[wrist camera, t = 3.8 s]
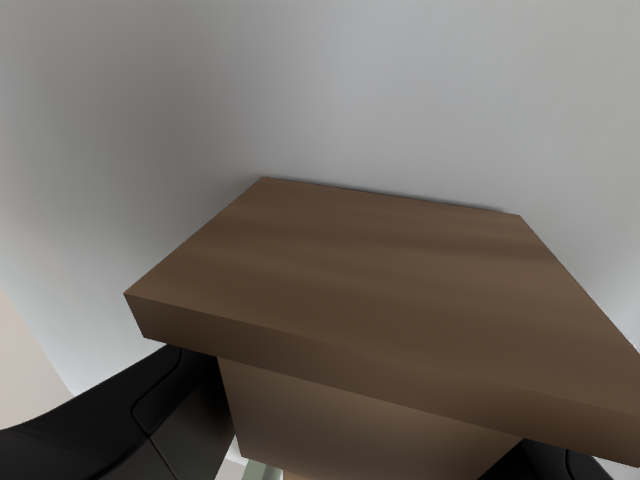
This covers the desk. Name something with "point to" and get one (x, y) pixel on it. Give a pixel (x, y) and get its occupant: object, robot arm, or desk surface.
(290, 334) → the brown wooden stepped block
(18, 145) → the desk surface
